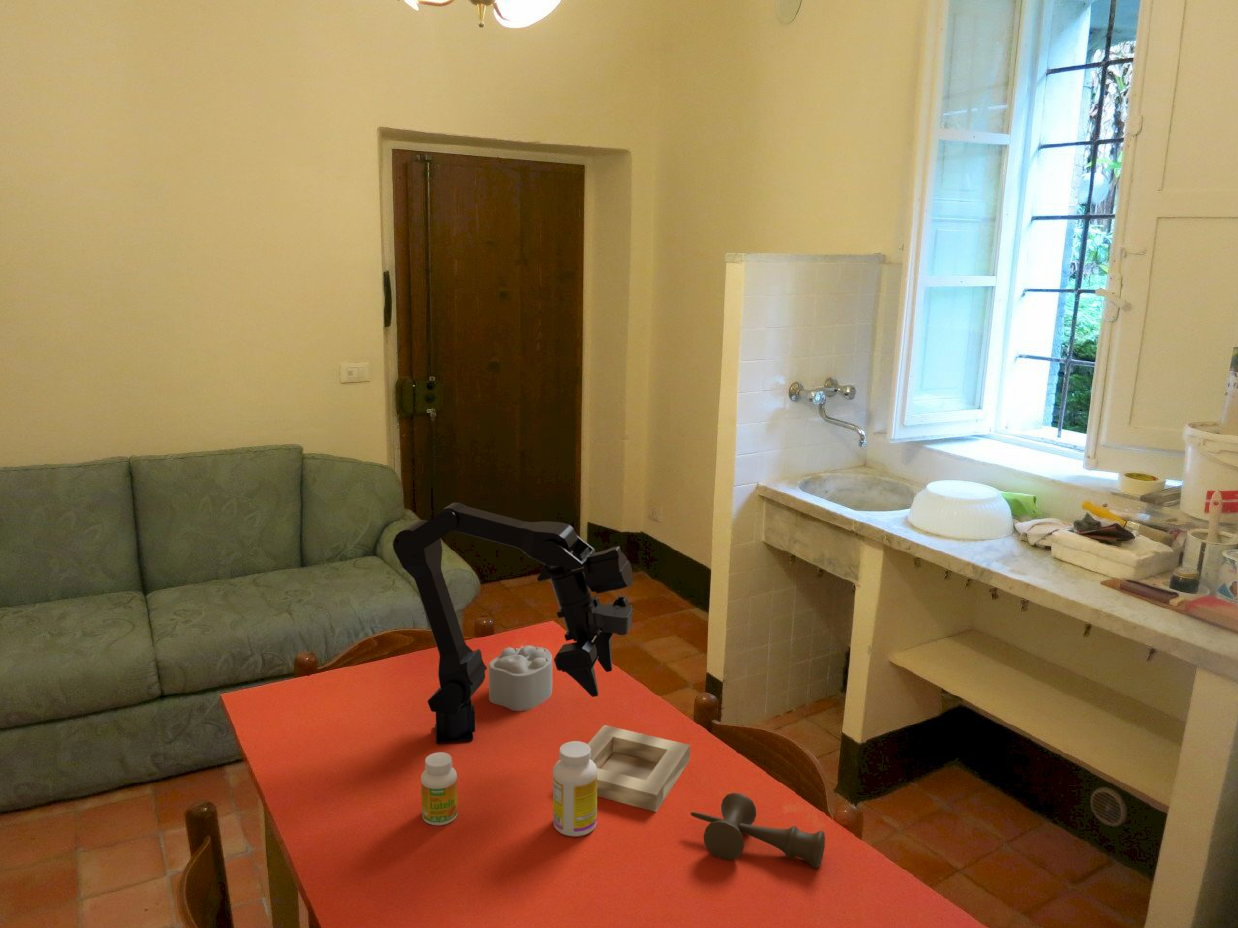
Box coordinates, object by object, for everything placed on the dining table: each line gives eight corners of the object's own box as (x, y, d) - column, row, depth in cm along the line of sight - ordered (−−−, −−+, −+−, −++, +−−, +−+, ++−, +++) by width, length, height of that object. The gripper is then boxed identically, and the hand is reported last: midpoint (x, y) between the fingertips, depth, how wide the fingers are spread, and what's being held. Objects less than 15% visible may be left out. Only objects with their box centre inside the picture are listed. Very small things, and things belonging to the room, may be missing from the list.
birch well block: (564, 787, 151) (564, 770, 150) (604, 739, 165) (604, 724, 164) (656, 811, 145) (656, 794, 144) (689, 760, 159) (690, 744, 158)
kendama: (815, 889, 129) (679, 848, 136) (827, 849, 138) (698, 813, 145) (820, 851, 128) (681, 812, 135) (831, 814, 136) (701, 779, 143)
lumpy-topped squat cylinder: (481, 699, 179) (481, 657, 177) (523, 673, 189) (523, 634, 187) (524, 714, 173) (524, 672, 171) (565, 687, 184) (565, 647, 182)
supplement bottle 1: (427, 830, 139) (425, 772, 137) (418, 810, 144) (415, 754, 141) (462, 820, 142) (461, 763, 139) (451, 801, 146) (450, 746, 144)
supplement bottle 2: (603, 817, 143) (604, 742, 140) (587, 842, 137) (588, 764, 134) (562, 807, 145) (563, 733, 142) (545, 832, 139) (545, 755, 136)
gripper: (605, 610, 143) (634, 701, 145) (632, 569, 161) (658, 651, 163) (540, 623, 146) (570, 713, 149) (573, 582, 164) (599, 662, 166)
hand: (602, 683), depth 157 cm, fingers open, 9 cm apart
